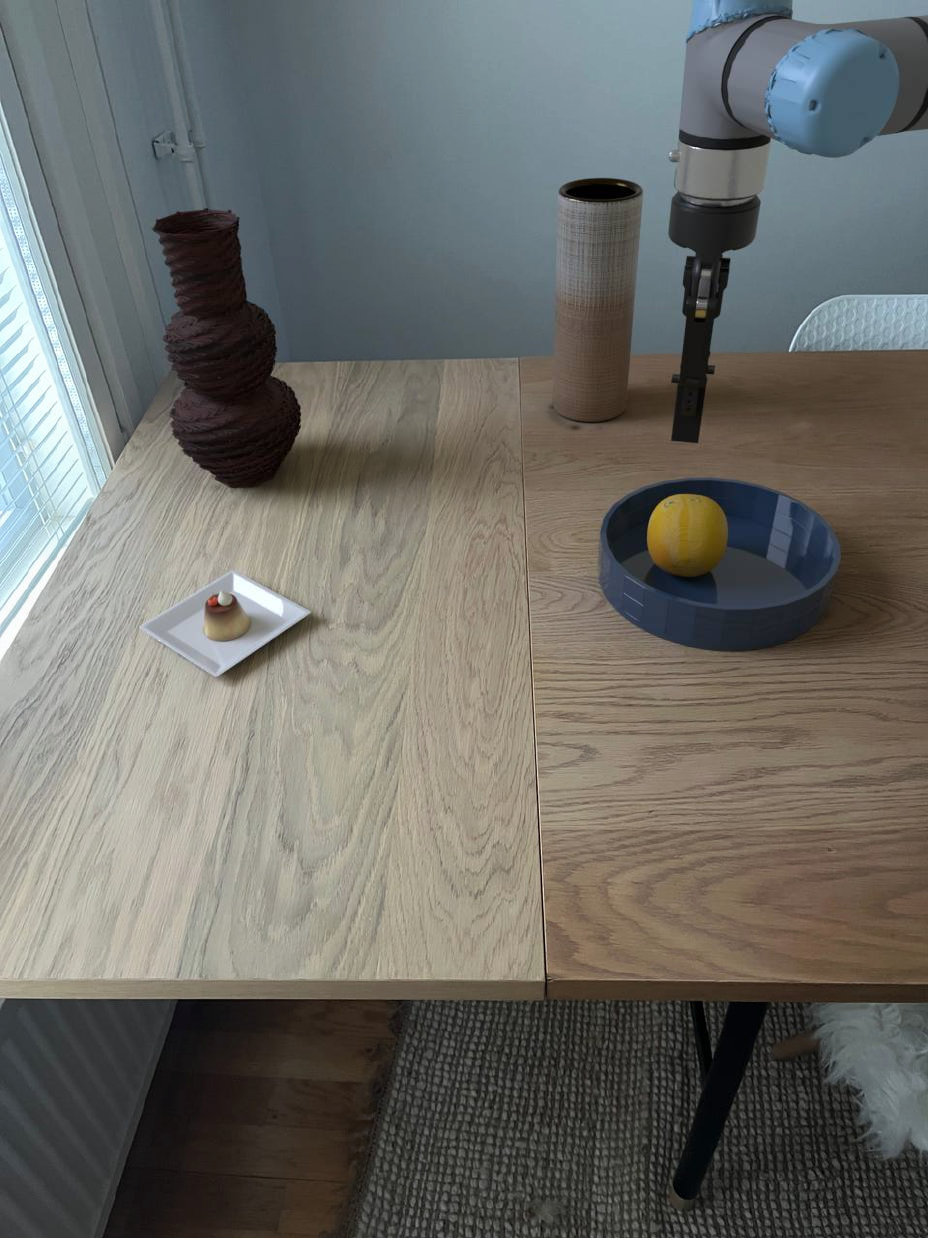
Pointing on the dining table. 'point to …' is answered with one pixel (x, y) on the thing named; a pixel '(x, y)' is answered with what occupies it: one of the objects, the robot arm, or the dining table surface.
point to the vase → (223, 355)
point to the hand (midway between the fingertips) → (685, 438)
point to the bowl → (723, 568)
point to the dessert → (224, 622)
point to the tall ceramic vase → (595, 296)
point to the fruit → (687, 535)
